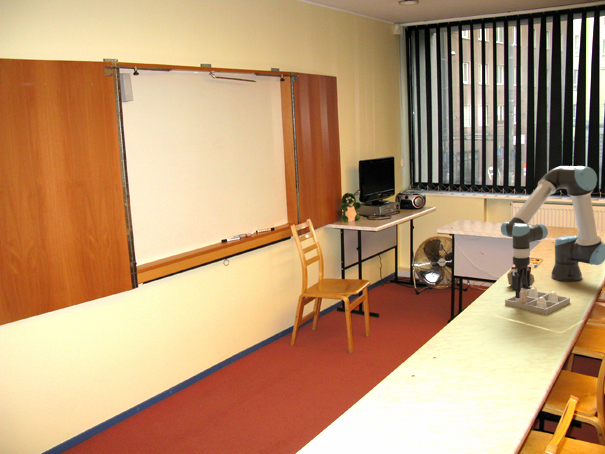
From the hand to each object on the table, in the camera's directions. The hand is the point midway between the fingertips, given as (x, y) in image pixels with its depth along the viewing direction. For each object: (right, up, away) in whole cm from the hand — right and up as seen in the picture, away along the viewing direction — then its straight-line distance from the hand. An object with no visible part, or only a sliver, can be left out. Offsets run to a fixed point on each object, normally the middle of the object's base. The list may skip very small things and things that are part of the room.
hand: (521, 302), depth 255 cm
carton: (+7, -1, -1) cm, 7 cm away
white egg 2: (+6, -2, -8) cm, 10 cm away
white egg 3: (+14, 0, -2) cm, 14 cm away
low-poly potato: (+11, +4, +26) cm, 29 cm away
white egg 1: (+8, +1, +6) cm, 10 cm away
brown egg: (0, 0, 0) cm, 0 cm away
